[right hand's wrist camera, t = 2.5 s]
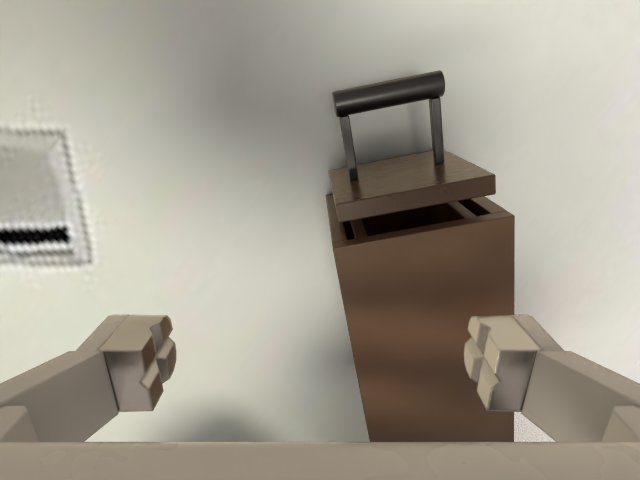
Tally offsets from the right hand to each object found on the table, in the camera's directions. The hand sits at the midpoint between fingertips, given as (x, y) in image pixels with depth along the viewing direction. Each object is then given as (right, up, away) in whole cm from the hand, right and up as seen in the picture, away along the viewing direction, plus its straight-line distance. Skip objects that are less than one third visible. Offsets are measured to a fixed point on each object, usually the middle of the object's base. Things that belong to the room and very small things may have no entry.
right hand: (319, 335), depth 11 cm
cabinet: (+7, -1, +26) cm, 27 cm away
